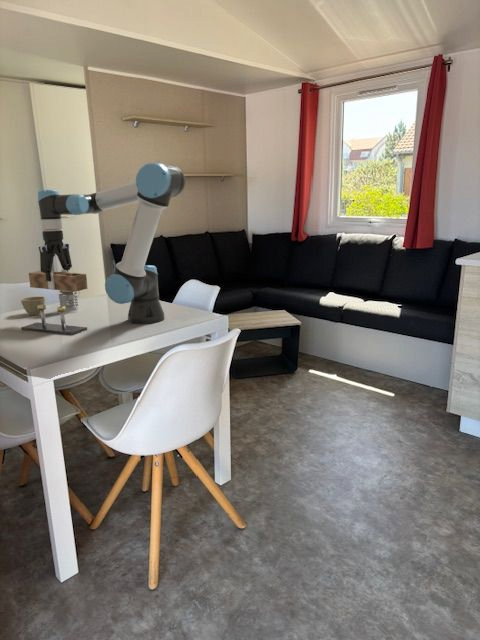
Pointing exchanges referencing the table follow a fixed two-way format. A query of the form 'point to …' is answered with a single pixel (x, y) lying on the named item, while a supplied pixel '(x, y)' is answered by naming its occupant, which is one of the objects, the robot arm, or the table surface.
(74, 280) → the wooden compartment box
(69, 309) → the french press
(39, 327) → the rail
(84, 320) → the table surface
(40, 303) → the flower pot
